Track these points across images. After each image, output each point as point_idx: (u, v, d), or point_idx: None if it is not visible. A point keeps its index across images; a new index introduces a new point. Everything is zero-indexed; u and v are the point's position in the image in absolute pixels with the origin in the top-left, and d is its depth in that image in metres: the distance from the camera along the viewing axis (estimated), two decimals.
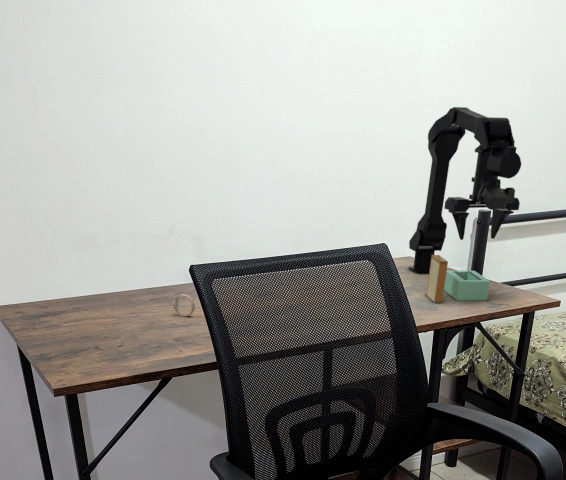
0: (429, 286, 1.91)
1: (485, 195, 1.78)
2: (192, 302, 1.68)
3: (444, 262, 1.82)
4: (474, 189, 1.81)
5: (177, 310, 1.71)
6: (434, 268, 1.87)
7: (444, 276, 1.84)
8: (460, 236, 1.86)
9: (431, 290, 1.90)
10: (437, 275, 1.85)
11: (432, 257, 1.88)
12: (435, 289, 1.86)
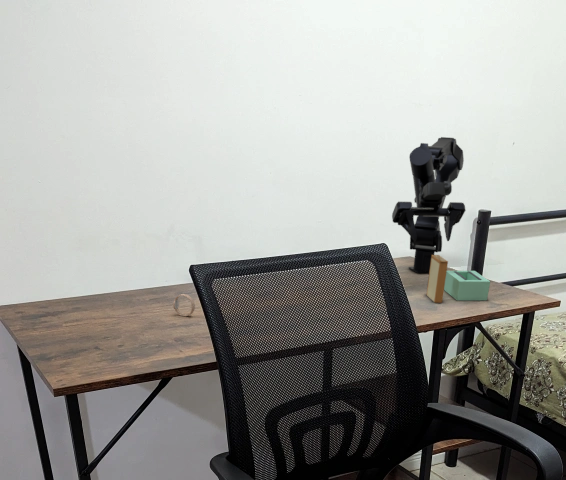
0: (429, 286, 1.91)
1: (423, 191, 1.88)
2: (192, 302, 1.68)
3: (444, 262, 1.82)
4: (416, 200, 1.93)
5: (177, 310, 1.71)
6: (434, 268, 1.87)
7: (444, 276, 1.84)
8: (413, 237, 1.90)
9: (431, 290, 1.90)
10: (437, 275, 1.85)
11: (432, 257, 1.88)
12: (435, 289, 1.86)
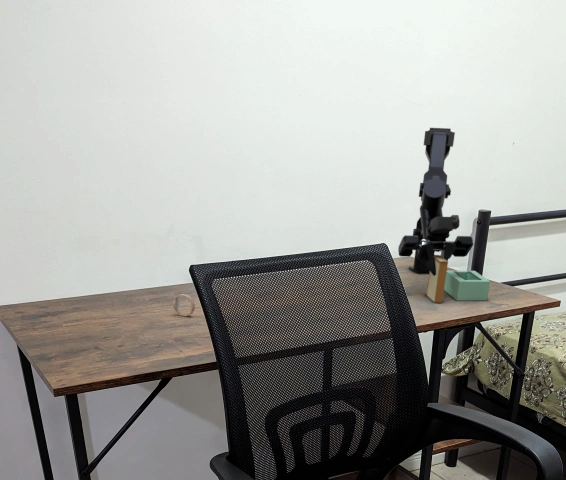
0: (429, 286, 1.91)
1: (431, 225, 1.84)
2: (192, 302, 1.68)
3: (444, 262, 1.82)
4: (423, 234, 1.89)
5: (177, 310, 1.71)
6: None
7: (444, 276, 1.84)
8: (433, 272, 1.86)
9: (431, 290, 1.90)
10: (437, 275, 1.85)
11: None
12: (435, 289, 1.86)
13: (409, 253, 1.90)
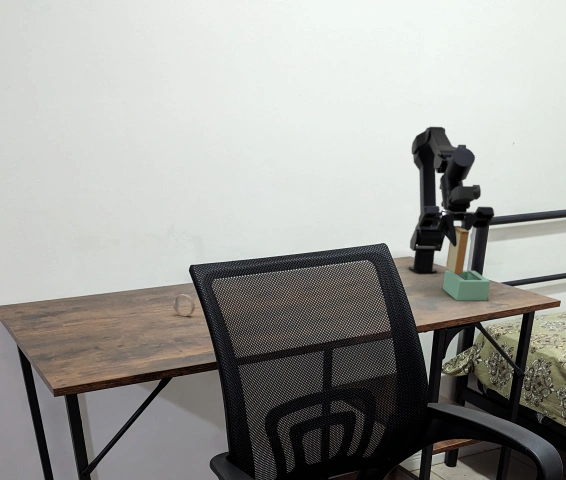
0: (449, 257, 1.90)
1: (451, 195, 1.83)
2: (192, 302, 1.68)
3: (465, 232, 1.82)
4: (443, 205, 1.88)
5: (177, 310, 1.71)
6: None
7: (465, 246, 1.83)
8: (453, 242, 1.85)
9: (451, 261, 1.89)
10: (458, 246, 1.84)
11: None
12: (456, 260, 1.85)
13: (429, 224, 1.89)
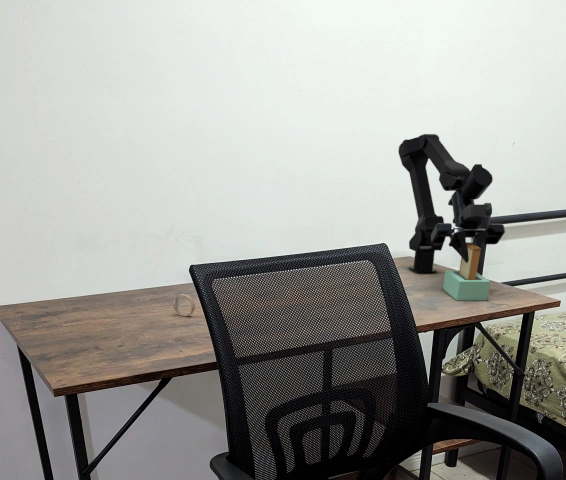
0: (461, 273, 1.95)
1: (463, 213, 1.88)
2: (192, 302, 1.68)
3: (477, 249, 1.86)
4: (455, 222, 1.93)
5: (177, 310, 1.71)
6: None
7: (477, 263, 1.88)
8: (465, 259, 1.90)
9: None
10: (470, 262, 1.88)
11: None
12: (468, 276, 1.90)
13: (441, 241, 1.93)
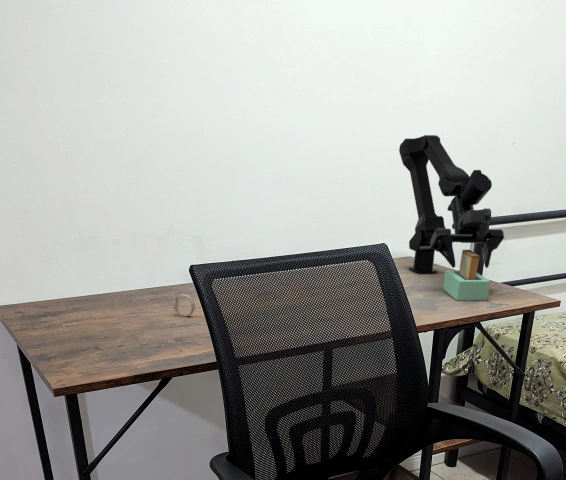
0: None
1: (463, 218, 1.88)
2: (192, 302, 1.68)
3: (476, 256, 1.87)
4: (455, 227, 1.93)
5: (177, 310, 1.71)
6: (465, 262, 1.91)
7: (475, 270, 1.89)
8: (452, 264, 1.90)
9: None
10: (469, 269, 1.89)
11: (463, 252, 1.93)
12: None
13: None
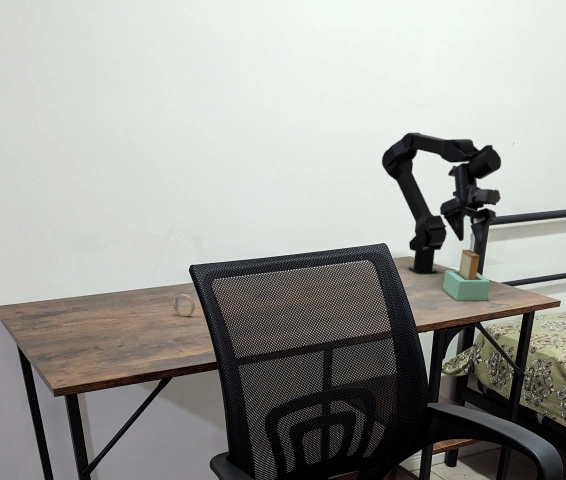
0: None
1: (477, 194, 1.91)
2: (192, 302, 1.68)
3: (476, 256, 1.87)
4: (461, 197, 1.94)
5: (177, 310, 1.71)
6: (465, 262, 1.91)
7: (475, 270, 1.89)
8: (460, 237, 1.93)
9: None
10: (469, 269, 1.89)
11: (463, 252, 1.93)
12: None
13: (447, 213, 1.94)
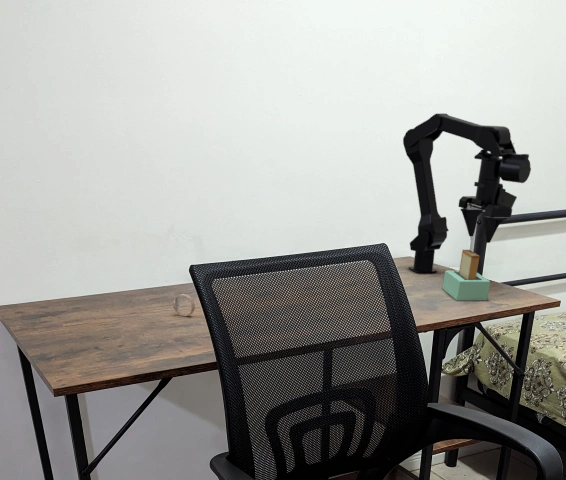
0: None
1: (506, 197, 1.95)
2: (192, 302, 1.68)
3: (476, 256, 1.87)
4: (492, 194, 1.93)
5: (177, 310, 1.71)
6: (465, 262, 1.91)
7: (475, 270, 1.89)
8: (489, 239, 1.97)
9: None
10: (469, 269, 1.89)
11: (463, 252, 1.93)
12: None
13: None
